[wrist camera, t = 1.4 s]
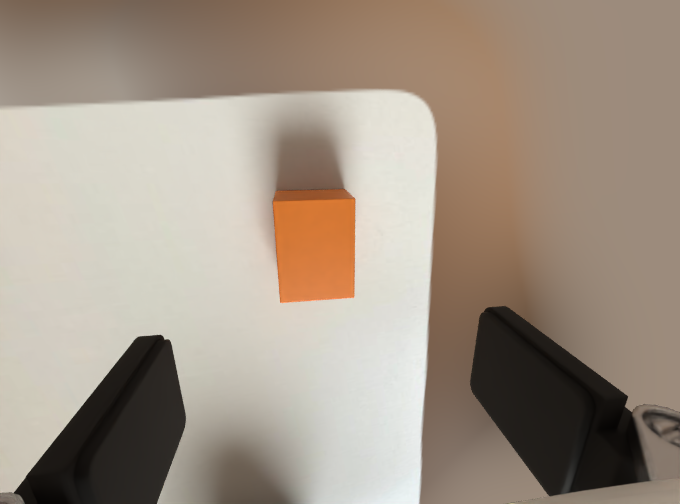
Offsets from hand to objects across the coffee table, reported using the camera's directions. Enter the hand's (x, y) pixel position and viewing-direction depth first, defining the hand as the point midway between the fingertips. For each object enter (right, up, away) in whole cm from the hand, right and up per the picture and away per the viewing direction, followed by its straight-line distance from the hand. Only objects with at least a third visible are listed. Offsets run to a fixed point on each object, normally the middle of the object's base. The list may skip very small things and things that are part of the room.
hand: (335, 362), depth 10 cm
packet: (-2, +4, +12) cm, 13 cm away
